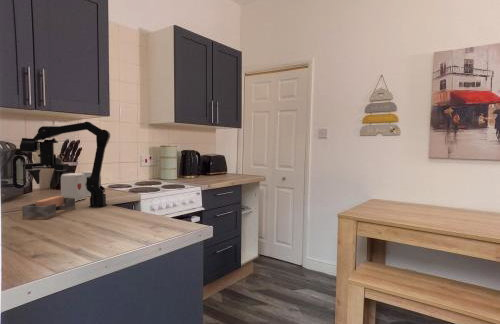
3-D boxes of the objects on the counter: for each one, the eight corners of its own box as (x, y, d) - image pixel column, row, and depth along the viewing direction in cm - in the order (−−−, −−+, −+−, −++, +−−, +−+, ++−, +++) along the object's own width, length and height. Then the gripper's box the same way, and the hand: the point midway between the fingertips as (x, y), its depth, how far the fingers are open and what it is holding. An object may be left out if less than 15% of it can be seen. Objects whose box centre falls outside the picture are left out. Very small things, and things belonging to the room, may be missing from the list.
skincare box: (81, 197, 184) (80, 172, 183) (83, 195, 190) (82, 171, 189) (96, 196, 186) (96, 171, 185) (98, 194, 192) (98, 170, 191)
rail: (56, 204, 149) (56, 195, 149) (64, 204, 149) (63, 196, 149) (35, 210, 135) (35, 201, 135) (43, 210, 135) (43, 201, 135)
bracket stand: (75, 209, 152) (74, 198, 152) (46, 219, 132) (46, 206, 132) (54, 208, 153) (54, 197, 152) (22, 219, 132) (22, 206, 132)
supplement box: (76, 202, 168) (76, 175, 167) (60, 202, 169) (59, 174, 168) (86, 199, 177) (85, 173, 176) (70, 199, 178) (69, 173, 177)
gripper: (75, 152, 159) (75, 182, 160) (39, 151, 159) (39, 181, 160) (62, 152, 147) (62, 185, 149) (23, 152, 147) (24, 184, 149)
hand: (47, 184), depth 152 cm, fingers open, 9 cm apart
